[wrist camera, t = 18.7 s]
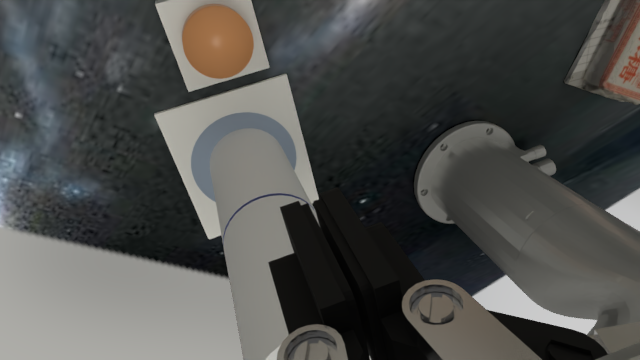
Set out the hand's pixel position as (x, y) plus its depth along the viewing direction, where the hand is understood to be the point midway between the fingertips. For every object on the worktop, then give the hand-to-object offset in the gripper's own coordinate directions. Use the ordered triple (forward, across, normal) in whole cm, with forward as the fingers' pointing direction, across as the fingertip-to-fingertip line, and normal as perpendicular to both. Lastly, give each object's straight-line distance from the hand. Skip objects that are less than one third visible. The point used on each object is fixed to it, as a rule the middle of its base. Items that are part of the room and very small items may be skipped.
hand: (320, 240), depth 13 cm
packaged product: (+31, -43, +9) cm, 54 cm away
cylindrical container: (+30, +1, +12) cm, 32 cm away
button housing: (+30, +1, -1) cm, 30 cm away
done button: (+28, +1, -1) cm, 28 cm away
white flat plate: (+30, +2, +11) cm, 32 cm away
